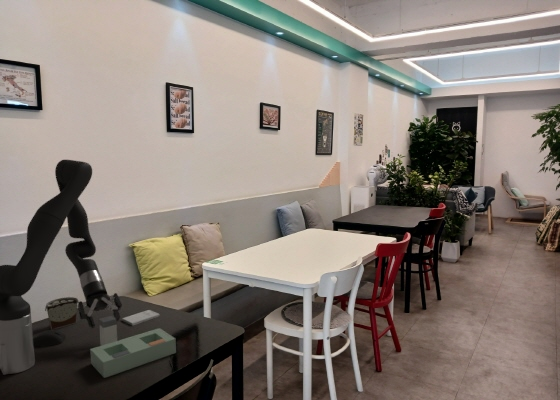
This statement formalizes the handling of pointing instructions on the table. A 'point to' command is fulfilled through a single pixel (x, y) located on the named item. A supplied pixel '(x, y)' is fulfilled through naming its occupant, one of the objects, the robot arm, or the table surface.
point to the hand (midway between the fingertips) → (105, 323)
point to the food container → (62, 312)
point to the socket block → (132, 352)
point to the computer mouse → (48, 338)
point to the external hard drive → (140, 317)
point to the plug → (107, 330)
